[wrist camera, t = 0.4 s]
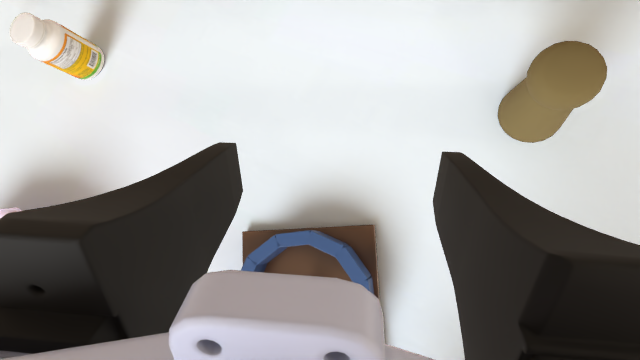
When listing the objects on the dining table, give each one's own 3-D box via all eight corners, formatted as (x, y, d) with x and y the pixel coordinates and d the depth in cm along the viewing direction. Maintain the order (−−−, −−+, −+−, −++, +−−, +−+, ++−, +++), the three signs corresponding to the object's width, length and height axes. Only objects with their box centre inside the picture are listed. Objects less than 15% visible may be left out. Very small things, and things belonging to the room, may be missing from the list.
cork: (541, 153, 37) (591, 121, 26) (485, 123, 38) (511, 81, 28) (577, 103, 36) (641, 49, 26) (519, 74, 38) (557, 14, 28)
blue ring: (383, 369, 37) (380, 381, 34) (251, 372, 40) (238, 383, 37) (365, 224, 39) (361, 224, 36) (241, 239, 42) (229, 239, 40)
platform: (384, 375, 37) (380, 393, 33) (247, 368, 41) (227, 384, 37) (374, 225, 40) (369, 224, 36) (246, 231, 44) (227, 231, 39)
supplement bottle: (71, 59, 55) (-1, 23, 45) (98, 38, 54) (31, -2, 45) (81, 88, 53) (10, 57, 44) (110, 67, 52) (43, 32, 43)
